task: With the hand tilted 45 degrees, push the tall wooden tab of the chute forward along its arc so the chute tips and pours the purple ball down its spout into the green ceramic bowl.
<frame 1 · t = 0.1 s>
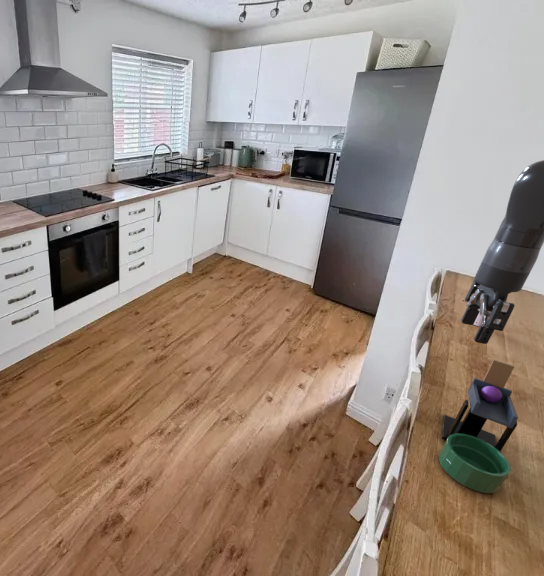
hand: (472, 332, 81), 19 cm above the table, tool pointing down, fingers open, 8 cm apart
chute: (497, 390, 71), point 14 cm above the table, hinge at -8.1°, touching ball
stand: (468, 450, 75), on the table
smoothie: (477, 324, 124), on the table
ball: (491, 394, 74), point 11 cm above the table, tilted 7°, touching chute
bowl: (467, 471, 70), on the table
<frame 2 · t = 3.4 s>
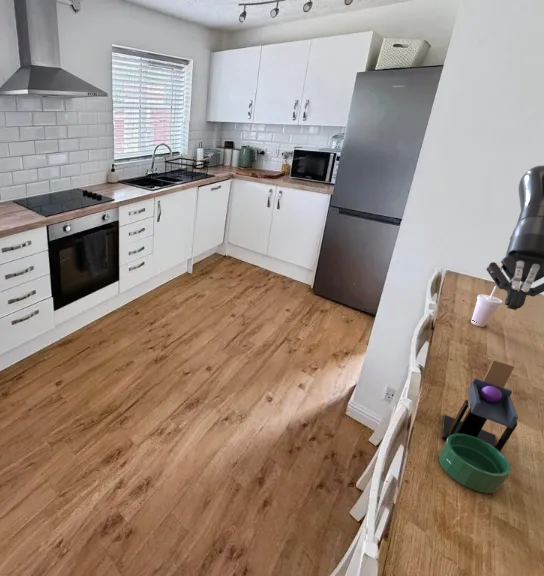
hand: (512, 307, 80), 24 cm above the table, tool tilted 45°, fingers closed
nothing on the table moved.
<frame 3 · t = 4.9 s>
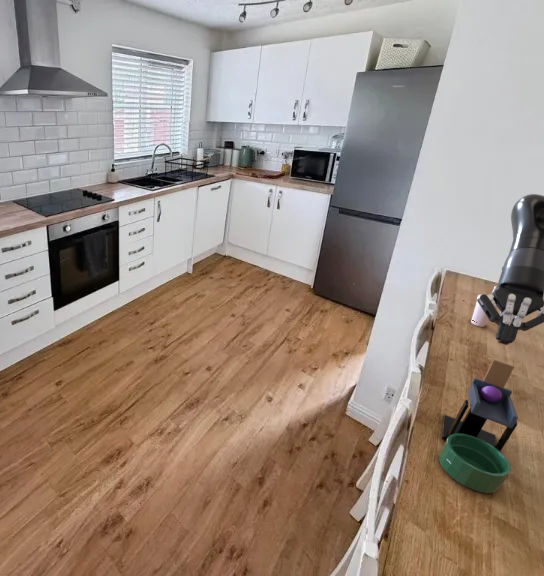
hand: (503, 342, 78), 19 cm above the table, tool tilted 45°, fingers closed
nothing on the table moved.
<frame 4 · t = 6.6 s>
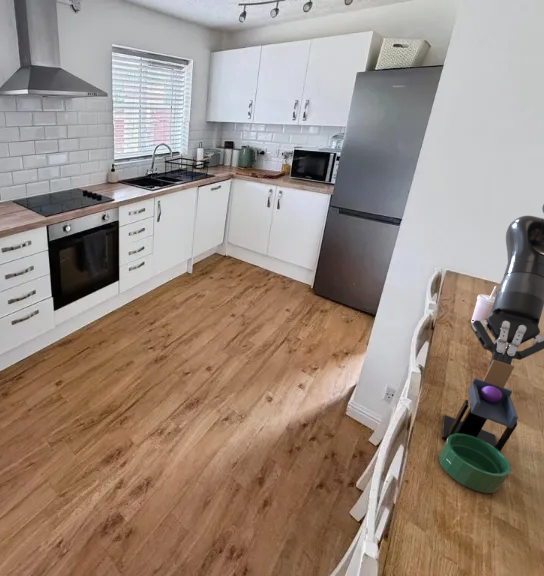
hand: (497, 372, 75), 15 cm above the table, tool tilted 45°, fingers closed
chute: (497, 390, 71), point 14 cm above the table, hinge at -8.1°, touching ball, gripper
everything else where it was.
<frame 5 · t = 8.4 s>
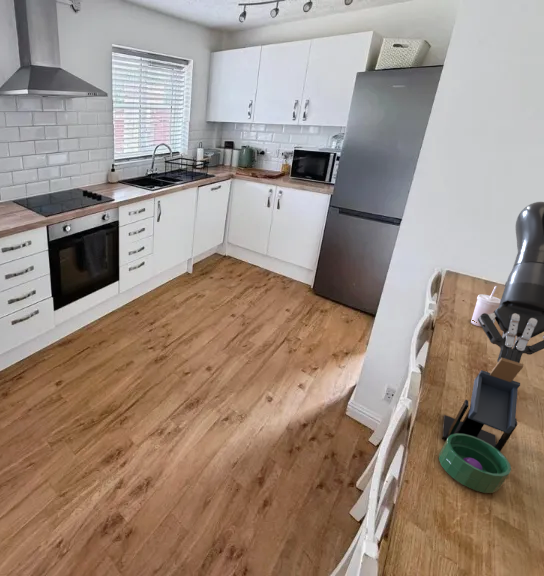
hand: (506, 367, 71), 18 cm above the table, tool tilted 45°, fingers closed
chute: (500, 393, 69), point 15 cm above the table, hinge at 19.7°, touching gripper
ball: (471, 466, 69), point 2 cm above the table, tilted 105°, touching bowl
everything else where it was.
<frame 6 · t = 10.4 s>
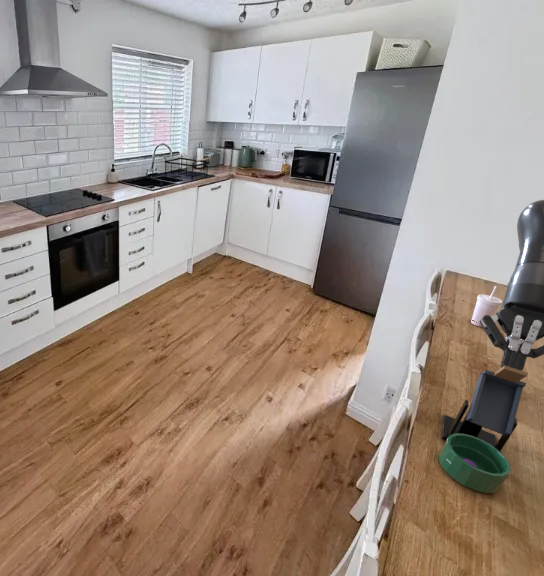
hand: (510, 372, 68), 19 cm above the table, tool tilted 45°, fingers closed
chute: (500, 399, 68), point 14 cm above the table, hinge at 42.5°
ball: (466, 468, 69), point 2 cm above the table, tilted 75°, touching bowl
everything else where it was.
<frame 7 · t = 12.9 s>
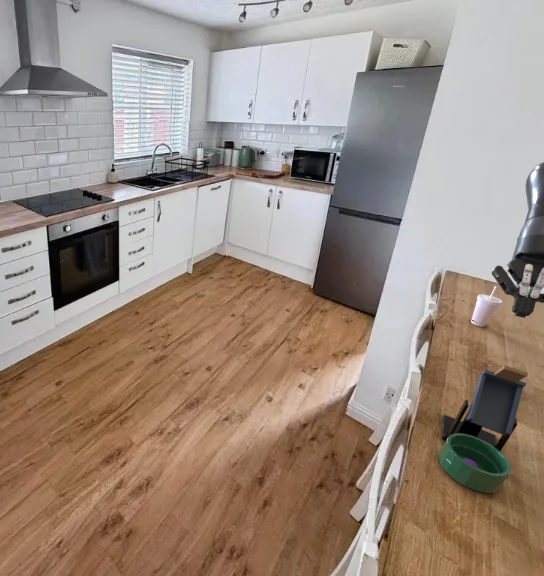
hand: (521, 315, 73), 26 cm above the table, tool tilted 45°, fingers closed
ball: (467, 467, 69), point 2 cm above the table, tilted 86°, touching bowl
everything else where it was.
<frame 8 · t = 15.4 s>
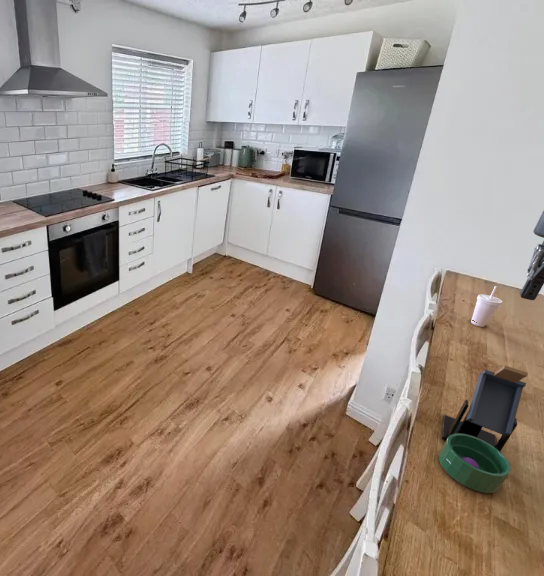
hand: (526, 297, 74), 29 cm above the table, tool pointing down, fingers closed
ball: (467, 466, 69), point 2 cm above the table, tilted 97°, touching bowl
everything else where it was.
at the end: ball inside the target area in the bowl (1.2 cm from its centre), point 2.1 cm above the bowl's base; chute reached +42° during the clip, +42° at the end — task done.
